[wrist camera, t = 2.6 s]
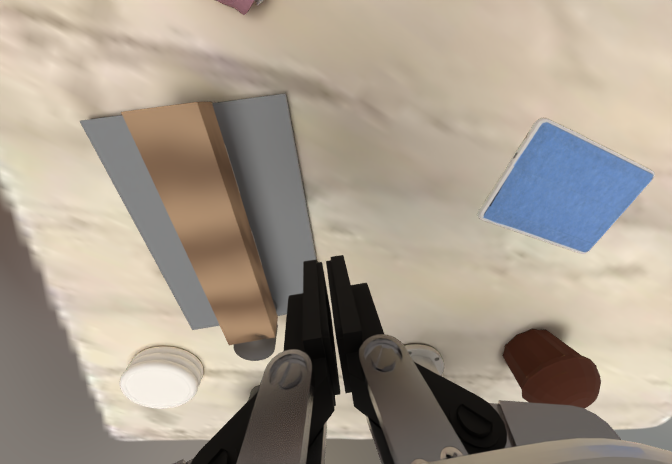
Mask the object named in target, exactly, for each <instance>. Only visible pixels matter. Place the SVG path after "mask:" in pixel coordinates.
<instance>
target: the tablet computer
mask: <svg viewBox="0 0 672 464" xmlns="http://www.w3.org/2000/svg"><path fill="white" fill-rule="evenodd" d="M653 178H654V172H653V171H652V170H650V169H648V168H646V167H644V166H642V165H640V164H638V163H636V162H634V161H632V160H630V159H628V158H626V157H624V156H622V155H620V154H618V153H616V152H614V151H612V150H610V149H608V148H606V147H604V146H602V145H600V144H598V143H596V142H594V141H592V140H590V139H588V138H586V137H584V136H583V135H581V134H579V133H576V132H575V131H573V130H571V129H568V128H566V127H564V126H562V125H560V124H557V123H556V122H553V121H551V120H549V119H547V118H540V119H538V120H537V121H536V122H535V123H534V124H533V126H532V127H531V129H530V131H529V132H528V134H527V137H526V138H525V139H524V140H523V142H522V143H521V145H520V146H519V148H518V150H517V151H516V153H515V155H514V156H513V158H512V159H511V161H510V162H509V164H508V165H507V167H506V169H505V170H504V172H503V173H502V175H501V176H500V178H499V180H498V181H497V183H496V184H495V186H494V187H493V189H492V191H491V192H490V194H489V195H488V197H487V198H486V200H485V202H484V203H483V205H482V206H481V208H480V209H479V211H478V215H477V216H478V218H479V219H481V220H484V221H486V222H489V223H492V224H495V225H498V226H501V227H504V228H507V229H510V230H513V231H515V232H518V233H521V234H524V235H527V236H530V237H533V238H536V239H539V240H542V241H545V242H547V243H550V244H553V245H556V246H559V247H562V248H565V249H568V250H571V251H574V252H577V253H581V254H584V253H586V252H588V251H589V250H591V248H592V247H593V246H594V245H595V244H596V243H597V242H598V241H599V239H600V238H601V237H602V236H603V235H604V234H605V233H606V231H607V230H608V229H609V228H610V227H611V226H612V225H613V224H614V222H615V221H616V220H617V219H618V218H619V217H620V216H621V214H622V213H623V212H624V211H625V210H626V209H627V208H628V207H629V205H630V204H631V203H632V202H633V201H634V200H635V199H636V198H637V196H638V195H639V194H640V193H641V192H642V191H643V190H644V188H645V187H646V186H647V185H648V184H649V183H650V182H651V181H652V179H653Z"/></svg>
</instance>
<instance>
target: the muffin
mask: <svg viewBox="0 0 672 464" xmlns="http://www.w3.org/2000/svg"><path fill="white" fill-rule="evenodd" d="M502 356H503V357H504V359H505V361H506V363H507V364H508V366H509V368H510V370H511V371H512V373H513V375H514V377H515V379H516V380H517V382H518V384H519V386H520V387H521V389H522V398H524V399H525V400H526V401H528V402H529V403H543V404H557V405H571V406H576V407H580V408H584V409H585V408H586V407H588V406H589V405H591V404H592V403H593V402H594V401H595V400H596V399H597V396H598V394H599V390H600V384H601V380H600V375H599V372H598V370H597V368H596V365H595V364H594V363H593V362H592V361H591V360H590V359H588V358H586V357H584V356H581V355H580V354H579V353H577V352H576V351H575V350H573V349H572V348H570V347H569V346H568V345H566V344H565V343H564V342H562V341H561V340H559V339H558V338H557V337H555V336H554V335H553V334H551V333H550V332H548V331H547V330H537V329H531V330H528V331H526V332H524V333H521V334H518V335H516V336H515V337H514V338H513V339H512V340H511V341H510V342H509V343H507V344H506V345H505V350H504V353H503V355H502Z"/></svg>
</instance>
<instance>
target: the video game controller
mask: <svg viewBox="0 0 672 464" xmlns="http://www.w3.org/2000/svg"><path fill="white" fill-rule="evenodd" d="M216 1H218V2H220V3H222V4H225V5H228V6H230V7H233V8H235V9H236V10H238V11H239V12H240V13H242V14H243V15H245V14H246V13H247V12H248V11H249V9H250V7H251V5H252V4H253V2H254V1H255V0H216ZM262 2H263V0H256V5H257V6H258V5H259V4H261V3H262Z"/></svg>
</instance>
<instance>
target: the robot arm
mask: <svg viewBox="0 0 672 464" xmlns="http://www.w3.org/2000/svg"><path fill="white" fill-rule="evenodd" d="M326 264H327V272H328V279H329V287H330V295H331V303H332V310H333V318H334V326H335V333H336V340H337V345H338V351H339V357H340V363H341V369H342V375H343V381H344V386H345V392H346V393H350V392H352V397H353V402H354V407H355V408H357V409H358V410H359V411H361V412H362V413H363V414H365V415H366V418H367V422H368V425H369V428H370V431H371V434H372V437H373V440H374V443H375V446H376V449H377V452H378V455H379V458H380V461H381V464H672V452H670V451H667V450H663V449H660V448H656V447H652V446H649V445H645V444H640V443H635V442H629V441H623V440H621V439H620V437H619V436H618V435H617V434H616V432H615V431H614V430H613V429H612V428H611V427H610V426H609V424H608V423H606V422H605V421H604V420H602V419H601V418H600V417H598V416H597V415H596V414H594V413H592V412H590V411H588V410H586V409H584V408H580V407H576V406H571V405H557V404H543V403H529V402H515V401H501V400H499V401H498V404H494V403H488V402H486V401H485V400H483V399H482V398H481V397H479V396H477V395H475V394H473V393H471V392H469V391H468V390H466V389H464V388H462V387H460V386H458V385H457V384H455V383H453V382H451V381H449V380H447V379H445V378H444V377H442V376H441V375H442V373H443V370H444V361H443V359H442V357H441V355H440V353H439V352H438V351H437V350H436V349H434V348H432V347H430V346H426V345H420V344H411V345H405V346H404V345H403V344H402V343H401V341H399V340H398V339H396V338H395V337H392V336H389V335H384V332H383V329H382V326H381V323H380V320H379V317H378V314H377V311H376V308H375V305H374V302H373V299H372V296H371V293H370V290H369V287H368V285H367V283H362V284H356V285H350V281H349V277H348V272H347V268H346V264H345V260H344V256H343V255H341V256H334V257H331V261H326ZM339 394H340V386H339V377H338V369H337V361H336V352H335V344H334V336H333V327H332V319H331V311H330V305H329V300H328V294H327V288H326V282H325V277H324V271H323V265H322V262H318V263H317V260H316V259H315V260H309V261H304V262H303V293H301V294H295V295H289V297H288V306H287V318H286V330H285V341H284V352H281V353H279V354H278V355H276V356H275V357H274V358H272V360H271V361H270V362H269V363H268V365H267V367H266V369H265V371H264V374H263V377H262V381H261V384H260V387H259V391H258V392H257V393H256V394H255V395H254V396H253V397H252V398H251V399H250V400H249V401H248V402H247V403H246V404H245V405H244V406H243V407H242V408H241V409H240V410H239V411H238V412H237V413H236V414H235V415H234V416H233V417H232V418H231V419H230V420H229V421H228V422H227V423H226V424H225V425H224V426H223V427H222V428H221V429H220V430H219V432H218V433H217V434H216V435H215V436H214V437H213V438H212V439H211V440H210V441H209V442H208V443H207V444H206V445H205V446H204V447H203V448H202V449H201V450H200V451H199V452H198V454H197V455H196V456H195V457H194V459H191V460H189V461H187V462H185V460H184V459H183V460H180V461H178V462H176V463H174V464H325V449H326V433H327V423H326V421H327V420H328V419H329V417H330V416H331V414H332V413H333V412H334V406H336V403H335V395H339Z"/></svg>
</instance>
